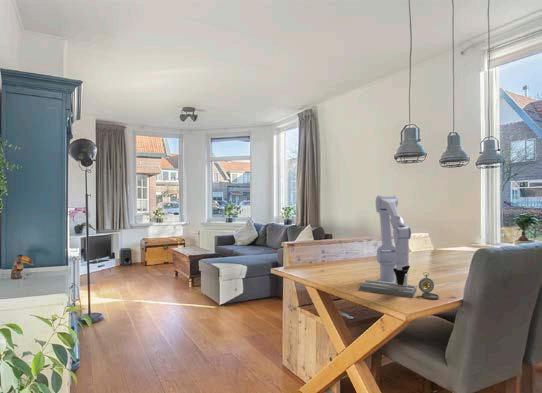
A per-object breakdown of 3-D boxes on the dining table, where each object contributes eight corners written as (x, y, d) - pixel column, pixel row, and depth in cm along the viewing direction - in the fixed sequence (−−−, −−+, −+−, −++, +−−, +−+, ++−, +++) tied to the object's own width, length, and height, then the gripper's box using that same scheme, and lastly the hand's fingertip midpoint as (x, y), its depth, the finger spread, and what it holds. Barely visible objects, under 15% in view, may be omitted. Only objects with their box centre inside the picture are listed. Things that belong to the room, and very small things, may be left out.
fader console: (366, 284, 169) (366, 278, 169) (416, 290, 157) (416, 284, 157) (359, 290, 158) (359, 283, 158) (413, 297, 147) (413, 290, 147)
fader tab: (396, 285, 158) (396, 272, 158) (408, 287, 155) (408, 273, 155) (395, 287, 154) (395, 274, 154) (406, 289, 152) (406, 275, 152)
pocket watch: (433, 300, 142) (433, 276, 142) (415, 295, 149) (415, 273, 149) (443, 297, 147) (443, 274, 147) (425, 292, 154) (425, 270, 154)
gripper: (395, 250, 163) (395, 278, 163) (389, 254, 150) (389, 285, 151) (411, 251, 160) (411, 280, 160) (406, 256, 147) (406, 287, 147)
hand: (401, 283), depth 155 cm, fingers open, 7 cm apart
